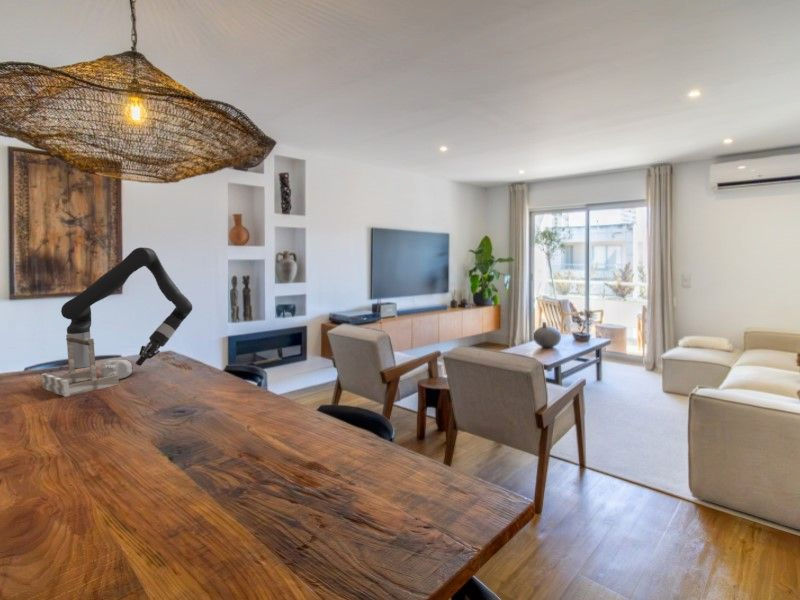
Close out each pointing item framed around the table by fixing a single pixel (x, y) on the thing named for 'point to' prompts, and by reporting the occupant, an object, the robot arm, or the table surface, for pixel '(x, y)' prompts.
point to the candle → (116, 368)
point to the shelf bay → (78, 374)
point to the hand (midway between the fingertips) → (137, 364)
